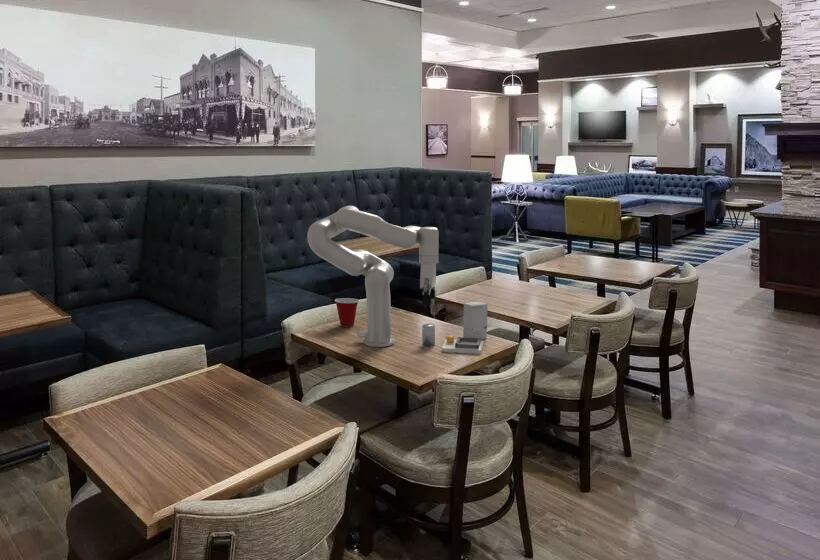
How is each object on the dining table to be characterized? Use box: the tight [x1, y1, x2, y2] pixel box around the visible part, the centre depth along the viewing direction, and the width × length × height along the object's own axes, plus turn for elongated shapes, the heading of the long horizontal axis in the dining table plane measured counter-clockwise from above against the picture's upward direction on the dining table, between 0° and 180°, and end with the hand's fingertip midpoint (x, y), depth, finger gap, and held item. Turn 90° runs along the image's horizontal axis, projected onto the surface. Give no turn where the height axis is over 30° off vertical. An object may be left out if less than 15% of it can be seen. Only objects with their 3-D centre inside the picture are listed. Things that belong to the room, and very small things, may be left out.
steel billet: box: [421, 323, 436, 348], centre depth 251 cm, size 5×5×8 cm
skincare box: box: [462, 301, 488, 340], centre depth 258 cm, size 8×6×15 cm
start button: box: [445, 334, 455, 343], centre depth 249 cm, size 3×3×2 cm
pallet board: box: [441, 336, 484, 355], centre depth 247 cm, size 15×12×3 cm
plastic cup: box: [334, 297, 360, 327], centre depth 278 cm, size 11×11×12 cm
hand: (428, 301), depth 248 cm, fingers open, 9 cm apart
